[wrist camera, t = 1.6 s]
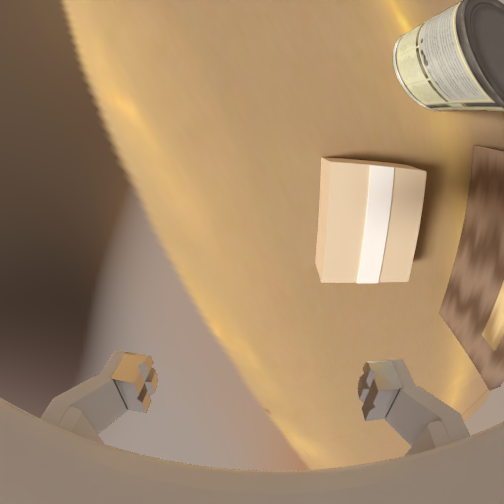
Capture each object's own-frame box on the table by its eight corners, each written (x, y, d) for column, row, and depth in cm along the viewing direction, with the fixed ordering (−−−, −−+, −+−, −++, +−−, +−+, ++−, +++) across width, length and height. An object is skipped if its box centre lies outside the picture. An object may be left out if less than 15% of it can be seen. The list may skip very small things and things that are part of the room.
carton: (320, 156, 29) (330, 162, 24) (405, 164, 28) (427, 171, 23) (314, 261, 33) (321, 283, 29) (392, 261, 33) (408, 282, 28)
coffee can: (423, 17, 20) (491, -20, 7) (475, 84, 22) (554, 81, 9) (373, 57, 23) (439, 18, 10) (432, 128, 26) (516, 140, 13)
